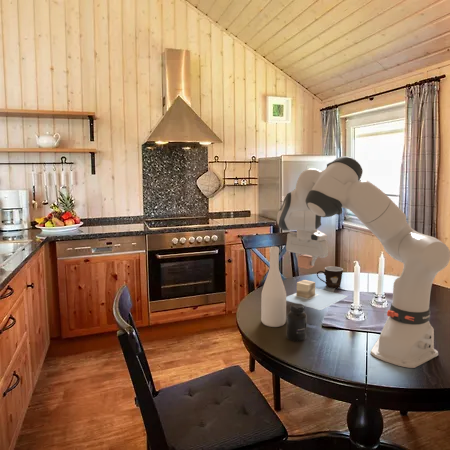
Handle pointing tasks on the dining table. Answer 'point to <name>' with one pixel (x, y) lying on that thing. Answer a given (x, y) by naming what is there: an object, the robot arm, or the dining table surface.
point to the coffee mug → (332, 276)
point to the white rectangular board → (317, 299)
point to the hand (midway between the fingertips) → (305, 264)
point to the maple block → (305, 288)
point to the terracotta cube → (305, 261)
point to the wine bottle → (273, 294)
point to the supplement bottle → (296, 323)
